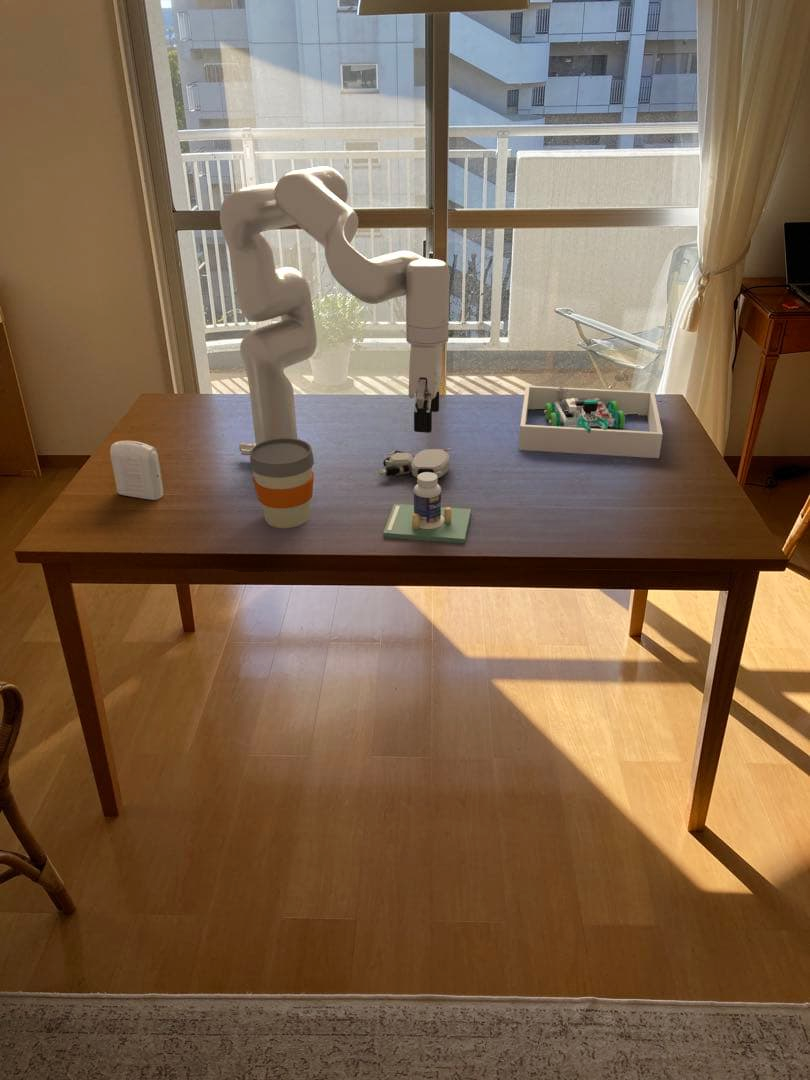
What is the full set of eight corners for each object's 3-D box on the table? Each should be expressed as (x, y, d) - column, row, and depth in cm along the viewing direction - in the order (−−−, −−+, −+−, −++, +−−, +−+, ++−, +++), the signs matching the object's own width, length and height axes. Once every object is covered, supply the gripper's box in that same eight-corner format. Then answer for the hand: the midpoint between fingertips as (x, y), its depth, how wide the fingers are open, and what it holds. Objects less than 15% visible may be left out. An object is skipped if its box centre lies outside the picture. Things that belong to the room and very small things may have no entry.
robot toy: (377, 486, 192) (444, 488, 189) (375, 467, 190) (443, 469, 186) (390, 462, 202) (454, 463, 199) (389, 444, 200) (453, 445, 197)
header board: (383, 537, 171) (382, 519, 169) (394, 507, 182) (393, 490, 180) (464, 543, 169) (465, 525, 167) (470, 513, 179) (471, 496, 177)
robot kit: (560, 454, 202) (563, 416, 197) (540, 412, 224) (542, 377, 219) (639, 451, 203) (644, 413, 198) (612, 409, 224) (616, 375, 219)
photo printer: (167, 493, 189) (158, 440, 182) (157, 502, 185) (147, 449, 179) (126, 487, 191) (115, 435, 185) (114, 495, 188) (104, 443, 181)
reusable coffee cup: (304, 536, 172) (299, 467, 164) (246, 528, 175) (237, 460, 167) (326, 506, 182) (322, 440, 175) (271, 499, 185) (264, 434, 178)
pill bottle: (432, 529, 172) (432, 485, 167) (408, 522, 174) (408, 478, 169) (445, 517, 176) (446, 474, 171) (422, 510, 178) (422, 468, 173)
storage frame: (518, 449, 205) (520, 426, 202) (524, 407, 227) (525, 385, 224) (659, 458, 200) (662, 434, 197) (650, 414, 222) (654, 391, 219)
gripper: (414, 316, 163) (414, 402, 172) (398, 347, 149) (399, 438, 158) (454, 318, 162) (452, 404, 171) (441, 349, 148) (440, 441, 156)
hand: (426, 421), depth 164 cm, fingers open, 9 cm apart
